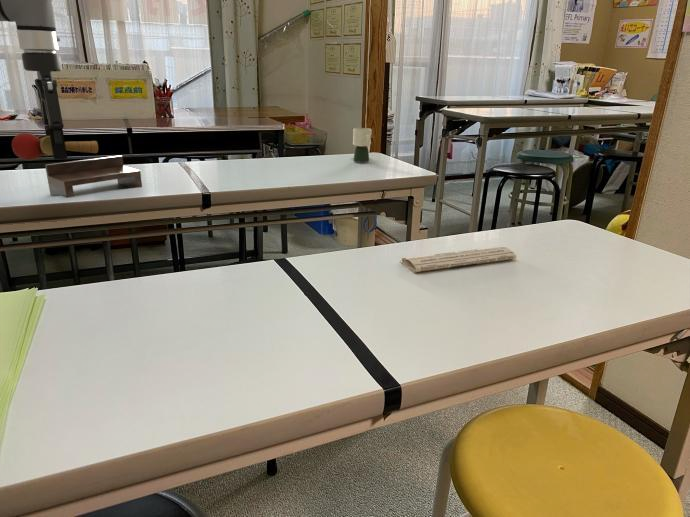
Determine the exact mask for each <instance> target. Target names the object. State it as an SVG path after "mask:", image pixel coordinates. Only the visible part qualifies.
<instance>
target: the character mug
mask: <svg viewBox="0 0 690 517" xmlns="http://www.w3.org/2000/svg"><path fill="white" fill-rule="evenodd" d="M371 138H372V128H368V127H354V128H353V130H352V145H353V146H355V148H354V154H353V162H359V161H360V162H370V153H369V148H368V147H369V146H371V144H372V140H371ZM360 162H359V163H360Z"/></svg>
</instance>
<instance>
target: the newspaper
mask: <svg viewBox="0 0 690 517" xmlns="http://www.w3.org/2000/svg"><path fill="white" fill-rule="evenodd" d="M515 259H517V254H516V253H515V252H514V250H512V249H510V248H508V247H507V246H503V245H501V246H500V245H499V246H490V247H484V248H476V249H468V250H458V251H451V252H443V253H435V254H427V255H418V256H417V255H416V256H411V257H402V258H401V260H399V262H400V263H401V264H402V265H404V267H406V268H407V269H408V270H409V271H411V272H412V273H420V272H428V271H433V270H434V271H435V270H442V269H449V268H450V269H451V268H457V267H464V266H465V267H466V266H472V265H480V264H487V263H494V262H502V261H509V260H515Z"/></svg>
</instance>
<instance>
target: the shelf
mask: <svg viewBox="0 0 690 517" xmlns="http://www.w3.org/2000/svg"><path fill="white" fill-rule="evenodd" d="M44 167H45V174H46V179H47V184H48V190H49V194H50V195H51V196H53V197H64V198H67V199H68V198H72V197H73V198H74V197H75V194H74V193H75V192H74V188H73V187H74V186H81V185H82V186H83V185H87V184H88V185H89V184H93V183H94V184H95V183H101V182H108V181H114V180H117V184H118V185H121V186H124V187H127V188H130V189H136V188H137V189H138V188H143V183H142V174H141V173H142V172H141V170H139V169H136V168H133V167H130V166H125V164H124V158H123V155H114V156H106V157H96V158H88V159H82V160H81V159H80V160H72V161H64V162H55V163H48V164H44Z"/></svg>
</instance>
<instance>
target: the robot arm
mask: <svg viewBox="0 0 690 517" xmlns="http://www.w3.org/2000/svg"><path fill="white" fill-rule="evenodd" d="M53 6H54V5H53V0H0V22H9V23H15V26H16V33H17V39H18V45H19V49H20V50H22V51H23V52H22V53H21V59H22V65H23V69H24V71H26V72H36V76H37V78H35V79H34V85H35V87H36V92H37V97H38V100H39V105H40V112H41V121H42V124H44V132H45V136H50V139H51V145H52V151H53V160H65V159H68V154H67V150H66V147H65V142H66V140H65V136H64V135H65V134H64V127H65V126H64V123H63V117H62V111H61V105H60V100H59V94H58V82H57V80H56V79H54V78H53V74H52V72H62V71H63V65H62V59H61V55H60V54H59V53H57V52H58V51H60V48H59V42H61V37H60V36H57V28H56V22H55V14H54V7H53Z"/></svg>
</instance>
